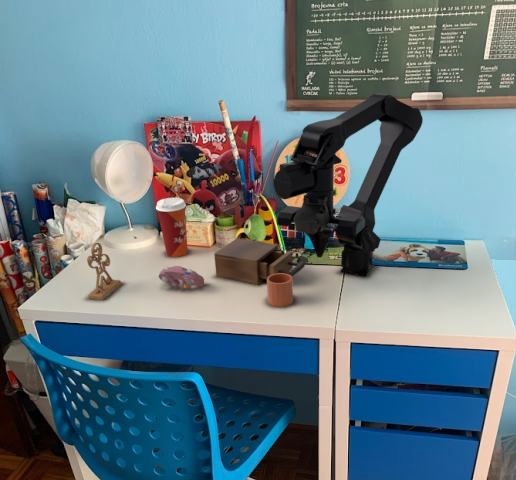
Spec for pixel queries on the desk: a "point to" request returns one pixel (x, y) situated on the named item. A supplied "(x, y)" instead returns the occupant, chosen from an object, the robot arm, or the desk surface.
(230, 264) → the cabinet
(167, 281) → the purple toy car
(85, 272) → the desk surface
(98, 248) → the wooden figurine
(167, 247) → the paper cup
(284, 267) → the drawer
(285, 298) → the cup
